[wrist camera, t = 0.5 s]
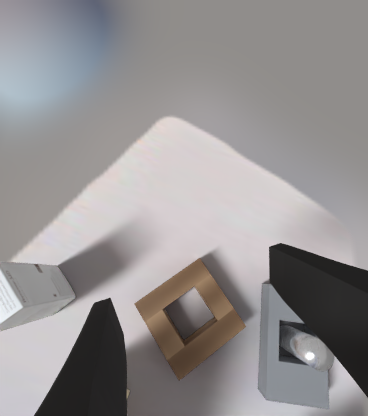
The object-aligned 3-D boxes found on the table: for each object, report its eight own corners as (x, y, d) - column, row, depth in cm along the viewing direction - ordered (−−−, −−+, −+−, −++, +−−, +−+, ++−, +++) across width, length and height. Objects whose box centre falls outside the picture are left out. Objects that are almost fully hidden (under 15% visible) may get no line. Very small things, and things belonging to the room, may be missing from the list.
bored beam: (315, 397, 32) (329, 409, 29) (257, 388, 32) (266, 400, 29) (313, 290, 36) (325, 292, 33) (262, 283, 36) (269, 284, 33)
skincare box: (78, 296, 34) (27, 307, 23) (51, 317, 33) (-16, 339, 22) (56, 263, 36) (-2, 257, 24) (30, 282, 35) (-44, 286, 23)
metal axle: (302, 340, 34) (339, 359, 26) (286, 354, 33) (319, 378, 25) (287, 320, 34) (320, 333, 27) (271, 333, 34) (300, 351, 26)
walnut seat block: (240, 322, 34) (246, 326, 31) (178, 371, 32) (178, 380, 29) (197, 259, 36) (199, 257, 34) (137, 301, 34) (134, 303, 31)
